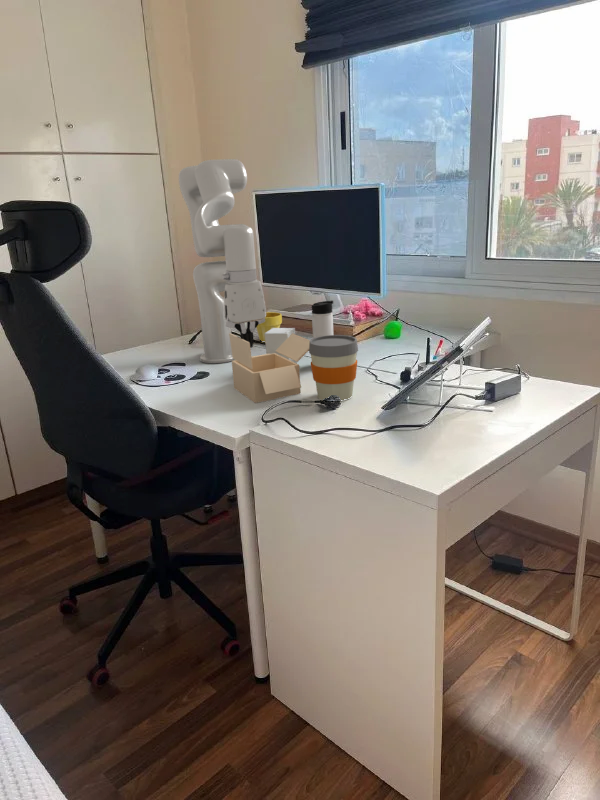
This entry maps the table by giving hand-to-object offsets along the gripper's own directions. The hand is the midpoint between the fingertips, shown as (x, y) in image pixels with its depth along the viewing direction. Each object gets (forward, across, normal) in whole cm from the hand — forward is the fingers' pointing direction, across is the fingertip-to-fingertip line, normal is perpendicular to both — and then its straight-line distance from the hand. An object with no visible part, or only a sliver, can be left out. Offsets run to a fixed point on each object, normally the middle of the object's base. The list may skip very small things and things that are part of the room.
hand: (247, 346), depth 159 cm
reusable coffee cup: (+13, +17, -15) cm, 27 cm away
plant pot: (+13, +30, +54) cm, 63 cm away
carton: (+13, +4, 0) cm, 14 cm away
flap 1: (+1, -2, 0) cm, 2 cm away
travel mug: (+13, +30, +12) cm, 34 cm away
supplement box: (+13, +17, +15) cm, 26 cm away
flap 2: (+2, +14, 0) cm, 14 cm away
